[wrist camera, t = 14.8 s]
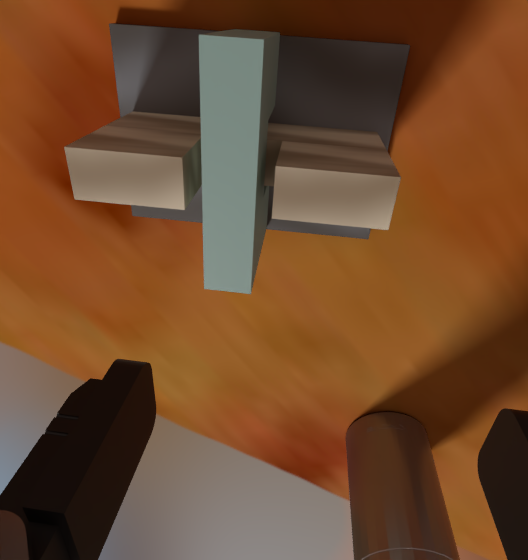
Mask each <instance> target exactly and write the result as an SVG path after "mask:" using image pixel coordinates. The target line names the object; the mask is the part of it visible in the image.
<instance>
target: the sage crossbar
mask: <svg viewBox="0 0 528 560" xmlns="http://www.w3.org/2000/svg"><path fill="white" fill-rule="evenodd" d="M279 42H280V32H269V31H255V30H242V29H232V30H225V31H219V32H212V33H206V34H200V35H199V72H200V118H201V164H202V211H203V257H204V289H211V290H220V291H229V292H238V293H247V294H251V291H252V287H253V282H254V278H255V274H256V270H257V265H258V261H259V257H260V253H261V249H262V244H263V240H264V236H265V232H266V227H267V215H268V200H269V186H265V185H264V180H265V164H266V148H267V132H268V120H269V118H270V116H271V113H272V111H273V109H274V107H275V100H276V85H277V71H278V57H279Z"/></svg>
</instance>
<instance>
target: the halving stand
mask: <svg viewBox="0 0 528 560" xmlns="http://www.w3.org/2000/svg"><path fill="white" fill-rule="evenodd" d="M109 27H110V35H111V43H112V51H113V59H114V68H115V76H116V84H117V92H118V100H119V108H120V117H121V118H119V119H117V120H115V121H113V122H111V123H109V124H108V125H106V126H104V127H102V128H100V129H98V130H96V131H94V132H92V133H90V134H88V135H86V136H84V137H82V138H81V139H79V140H77V141H75V142H73V143H71V144H69V145H67V146H65V147H64V148H65V153H66V158H67V163H68V168H69V173H70V178H71V183H72V188H73V193H74V198H75V199H77V200H87V201H97V202H107V203H117V204H128V205H131V207H132V215H133V216H140V217H150V218H161V219H171V220H181V221H191V222H201V223H203V211H202V164H201V118H200V72H199V35H200V34H206V33H212V32H219V31H213V30H199V29H186V28H172V27H158V26H144V25H130V24H116V23H113V24H109ZM409 49H410V45H408V44H394V43H380V42H366V41H352V40H338V39H325V38H311V37H297V36H283V35H280V42H279V57H278V71H277V85H276V100H275V107H274V109H273V111H272V113H271V116H270V118H269V120H268V132H267V148H266V164H265V180H264V185H265V186H269V200H268V215H267V227H266V229H271V230H281V231H291V232H301V233H311V234H321V235H332V236H342V237H352V238H362V239H368V238H369V234H370V229H371V228H373V229H383V230H388V229H389V224H390V220H391V216H392V212H393V208H394V204H395V200H396V196H397V191H398V187H399V183H400V179H401V177H400V175H399V173H398V171H397V169H396V167H395V165H394V163H393V161H392V159H391V157H390V156H389V154H388V152H387V151H388V146H389V141H390V137H391V132H392V127H393V123H394V118H395V114H396V109H397V104H398V100H399V95H400V90H401V86H402V81H403V77H404V72H405V67H406V63H407V58H408V54H409Z"/></svg>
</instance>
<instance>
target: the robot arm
mask: <svg viewBox="0 0 528 560" xmlns="http://www.w3.org/2000/svg"><path fill="white" fill-rule="evenodd" d="M155 417H156V401H155V393H154V384H153V376H152V368H151V365H150V363H147V362H139V361H131V360H123V359H117V360H115V361H114V362H113V364H112V365H111V367H110V368H109V370H108V371H107V373H106V375H105V376H104V378H103V379H102V380H99V379H89V380H88V381H87V382H85V383H84V384H83V385H82V386H80V387H79V388H78V389H76V390H75V391H74V392H72V393H71V394H70V396H69V397H68V399H67V400H66V401H65V403H64V404H63V406H62V407H61V408H60V410H59V411H58V413H57V417H56V418H55V417H54V419H53V420H52V421H51V423H50V424H49V426H48V427H47V429H46V432H45V434H43V435H42V436H41V437H40V439H39V440H38V442H37V443H36V445H35V446H34V447H33V449H32V450H31V452H30V453H29V455H28V457H27V458H26V459H25V460H24V462H23V463H22V465H21V466H20V468H19V469H18V470H17V472H16V473H15V475H14V476H13V478H12V479H11V481H10V482H9V484H8V485H7V486H6V488H5V490H4V491H3V492H2V494H1V495H0V560H98V558H99V556H100V553H101V551H102V549H103V546H104V544H105V542H106V539H107V537H108V535H109V532H110V530H111V527H112V525H113V523H114V520H115V518H116V516H117V513H118V511H119V509H120V506H121V504H122V502H123V499H124V497H125V495H126V492H127V490H128V487H129V485H130V483H131V480H132V478H133V476H134V473H135V471H136V468H137V466H138V464H139V462H140V459H141V457H142V454H143V452H144V450H145V447H146V445H147V443H148V440H149V438H150V436H151V433H152V430H153V427H154V423H155ZM346 449H347V464H348V480H349V495H350V509H351V523H352V536H353V537H352V538H353V552H354V560H460V558H459V555H458V551H457V547H456V543H455V539H454V535H453V532H452V528H451V524H450V520H449V516H448V513H447V509H446V505H445V501H444V497H443V494H442V490H441V486H440V482H439V479H438V475H437V471H436V467H435V463H434V459H433V455H432V451H431V448H430V444H429V440H428V436H427V433H426V430H425V428H424V427H423V426H422V424H421V423H419V422H418V421H417V420H416V419H414V418H412V417H410V416H407V415H404V414H401V413H394V412H380V413H373V414H370V415H366V416H364V417H362V418H360V419H358V420H357V421H355V422H354V423H353V424H352V425H351V426H350V427H349V429H348V431H347V433H346ZM478 474H479V479H480V482H481V485H482V488H483V491H484V494H485V496H486V499H487V502H488V505H489V508H490V511H491V513H492V516H493V519H494V522H495V525H496V528H497V531H498V533H499V536H500V539H501V542H502V545H503V548H504V551H505V553H506V556H507V559H508V560H528V411H521V410H513V409H502V410H501V411H500V412H499V414H498V416H497V418H496V420H495V422H494V424H493V426H492V428H491V430H490V432H489V434H488V436H487V438H486V440H485V442H484V444H483V446H482V448H481V450H480V452H479V456H478Z"/></svg>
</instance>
